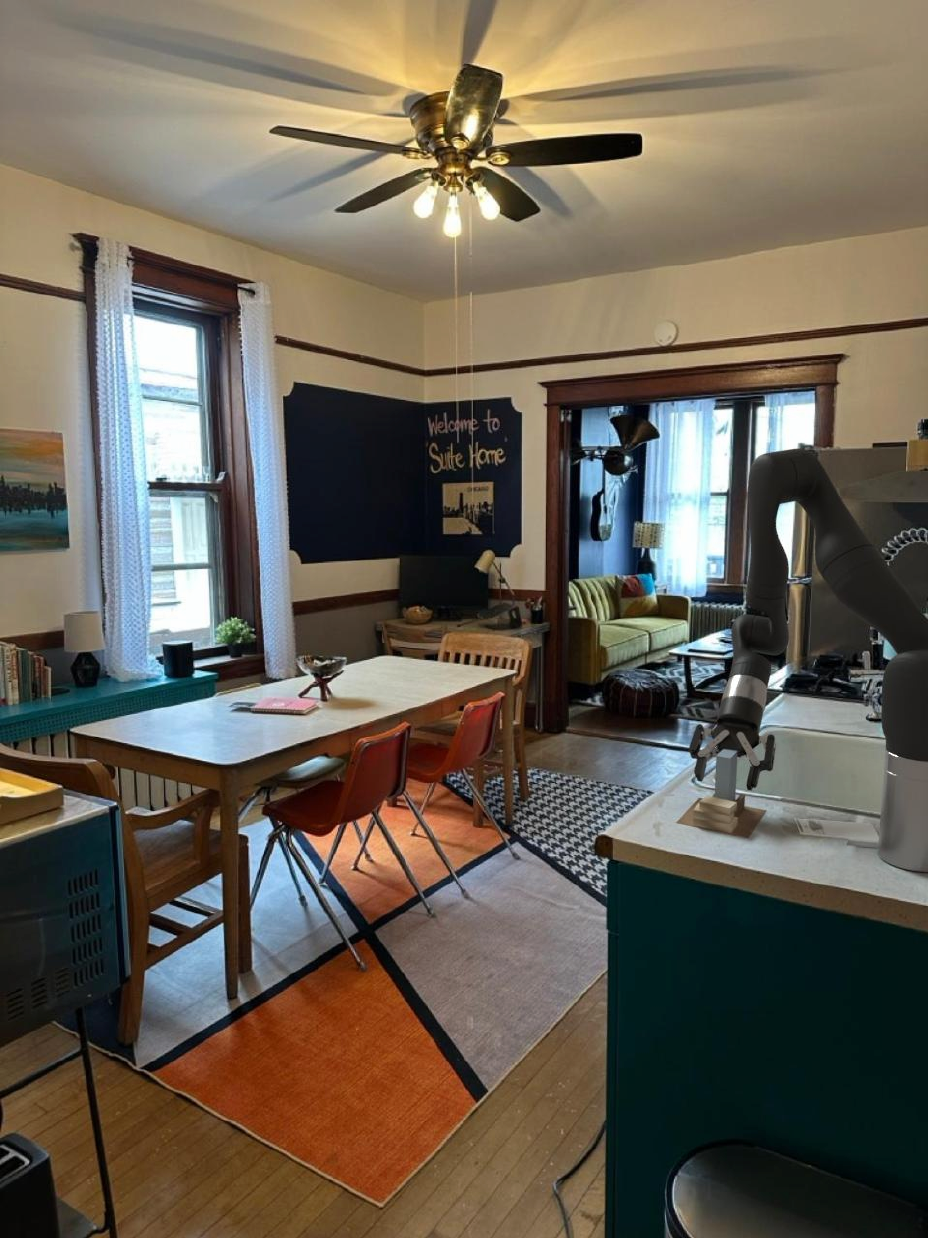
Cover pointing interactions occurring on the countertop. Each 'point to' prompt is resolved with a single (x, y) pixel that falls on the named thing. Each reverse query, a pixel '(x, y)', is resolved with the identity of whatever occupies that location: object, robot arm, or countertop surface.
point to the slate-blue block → (726, 775)
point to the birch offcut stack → (715, 814)
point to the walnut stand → (745, 815)
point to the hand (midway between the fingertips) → (723, 783)
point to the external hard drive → (843, 831)
